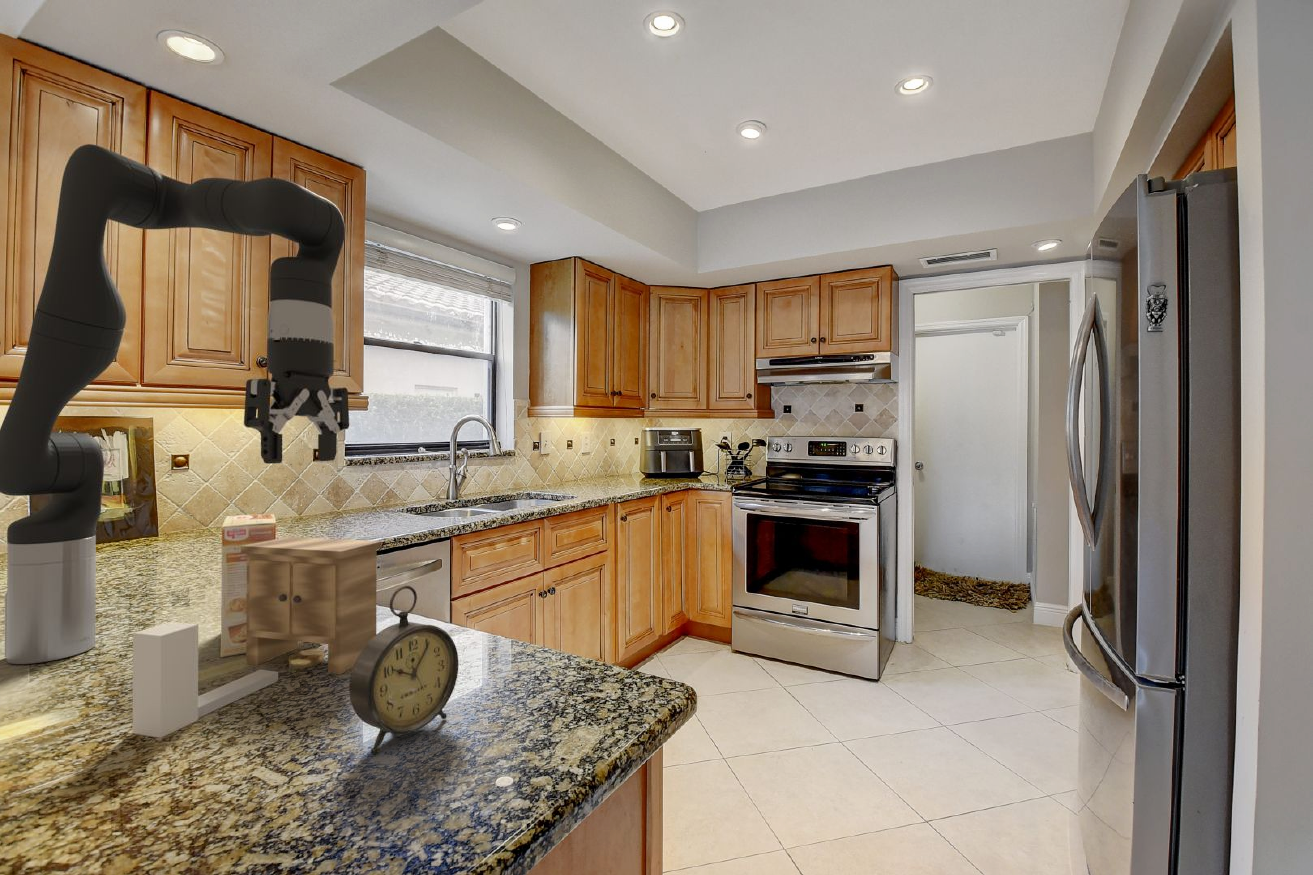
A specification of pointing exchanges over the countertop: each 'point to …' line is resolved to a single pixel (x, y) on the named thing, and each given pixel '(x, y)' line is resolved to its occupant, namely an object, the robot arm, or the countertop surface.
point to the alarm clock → (403, 676)
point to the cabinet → (311, 597)
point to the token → (306, 658)
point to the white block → (177, 681)
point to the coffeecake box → (239, 575)
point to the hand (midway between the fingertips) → (301, 461)
